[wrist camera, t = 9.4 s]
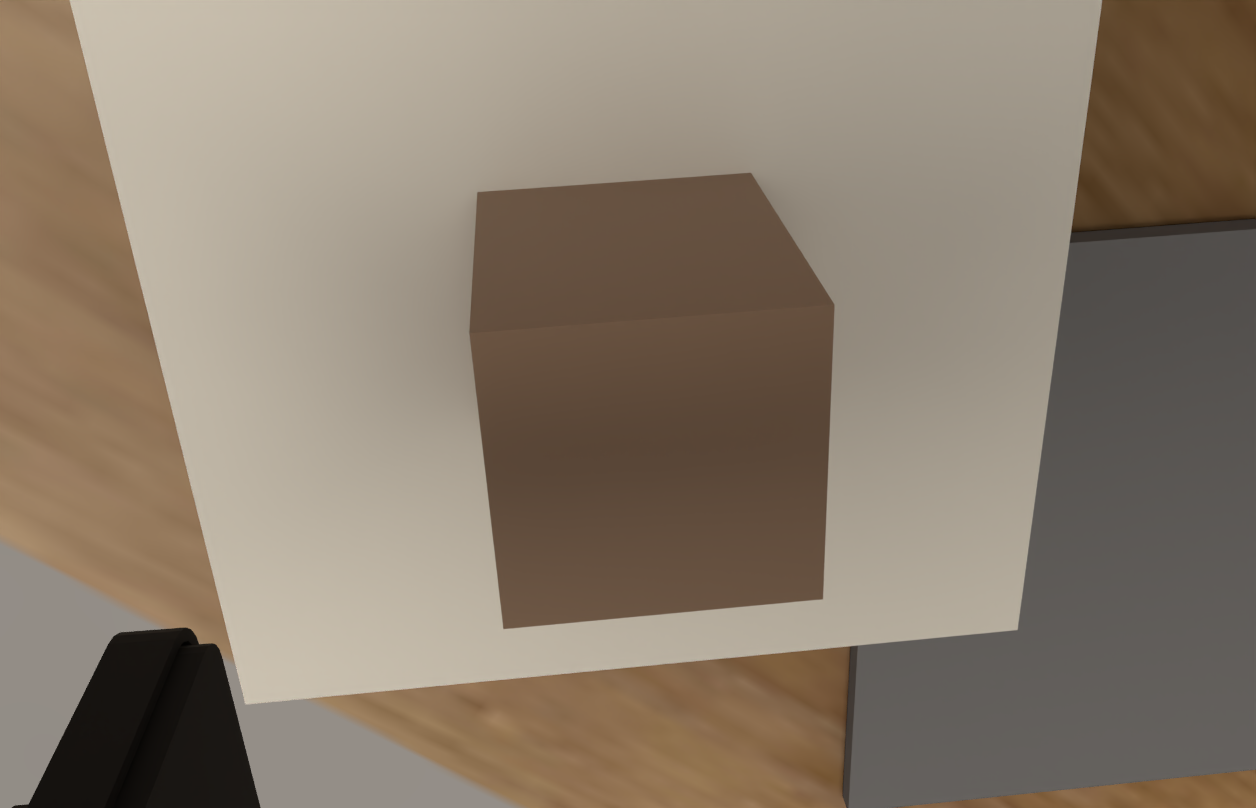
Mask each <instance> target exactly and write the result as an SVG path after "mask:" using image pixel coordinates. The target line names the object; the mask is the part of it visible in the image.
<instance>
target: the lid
mask: <svg viewBox="0 0 1256 808" xmlns="http://www.w3.org/2000/svg"><path fill="white" fill-rule="evenodd" d="M70 3H71V7H72V11H73V15H74V19H75V23H76V27H77V31H78V35H79V39H80V43H81V47H82V51H83V55H84V59H85V63H86V67H87V71H88V75H89V79H90V83H91V87H92V91H93V95H94V99H95V103H96V107H97V111H98V115H99V119H100V123H101V127H102V131H103V135H104V139H105V143H106V147H107V151H108V155H109V159H110V163H111V167H112V171H113V175H114V179H115V183H116V187H117V191H118V195H119V199H120V203H121V207H122V211H123V215H124V220H125V224H126V228H127V232H128V236H129V240H130V244H131V248H132V252H133V256H134V260H135V264H136V268H137V272H138V276H139V280H140V284H141V288H142V292H143V296H144V300H145V304H146V308H147V312H148V316H149V320H150V324H151V328H152V332H153V336H154V340H155V344H156V348H157V352H158V356H159V360H160V364H161V368H162V372H163V376H164V380H165V384H166V388H167V392H168V396H169V400H170V404H171V408H172V412H173V416H174V420H175V424H176V428H177V432H178V436H179V440H180V444H181V448H182V452H183V456H184V460H185V464H186V468H187V472H188V476H189V480H190V484H191V488H192V492H193V496H194V500H195V504H196V508H197V512H198V516H199V520H200V524H201V528H202V532H203V536H204V540H205V544H206V548H207V552H208V556H209V560H210V564H211V568H212V572H213V576H214V580H215V584H216V588H217V592H218V596H219V600H220V604H221V608H222V612H223V616H224V620H225V624H226V628H227V632H228V636H229V640H230V644H231V648H232V652H233V656H234V660H235V664H236V668H237V672H238V676H239V680H240V684H241V688H242V692H243V696H244V700H245V704H254V703H265V702H275V701H286V700H295V699H307V698H317V697H328V696H338V695H348V694H359V693H369V692H380V691H390V690H400V689H411V688H421V687H431V686H442V685H452V684H463V683H473V682H483V681H494V680H504V679H515V678H525V677H535V676H546V675H556V674H566V673H577V672H587V671H598V670H608V669H618V668H629V667H639V666H649V665H660V664H670V663H681V662H691V661H701V660H712V659H722V658H733V657H743V656H753V655H764V654H774V653H784V652H795V651H805V650H816V649H826V648H836V647H847V646H857V645H867V644H878V643H888V642H899V641H909V640H919V639H930V638H940V637H951V636H961V635H971V634H982V633H992V632H1002V631H1013V630H1018V623H1019V615H1020V608H1021V600H1022V593H1023V586H1024V578H1025V571H1026V563H1027V556H1028V548H1029V541H1030V534H1031V526H1032V519H1033V511H1034V504H1035V496H1036V489H1037V481H1038V474H1039V467H1040V459H1041V452H1042V444H1043V437H1044V429H1045V422H1046V414H1047V407H1048V400H1049V392H1050V385H1051V377H1052V370H1053V362H1054V355H1055V348H1056V340H1057V333H1058V325H1059V318H1060V310H1061V303H1062V295H1063V288H1064V281H1065V273H1066V266H1067V258H1068V251H1069V243H1070V236H1071V228H1072V221H1073V214H1074V206H1075V199H1076V191H1077V184H1078V176H1079V169H1080V162H1081V154H1082V147H1083V139H1084V132H1085V124H1086V117H1087V109H1088V102H1089V95H1090V87H1091V80H1092V72H1093V65H1094V57H1095V50H1096V42H1097V35H1098V28H1099V20H1100V13H1101V5H1102V0H70Z"/></svg>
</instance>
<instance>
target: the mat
mask: <svg viewBox="0 0 1256 808" xmlns="http://www.w3.org/2000/svg"><path fill="white" fill-rule="evenodd" d="M1246 770H1256V219H1246V220H1233V221H1220V222H1206V223H1193V224H1180V225H1166V226H1153V227H1140V228H1126V229H1113V230H1100V231H1086V232H1073V233H1071V236H1070V243H1069V251H1068V258H1067V266H1066V273H1065V281H1064V288H1063V295H1062V303H1061V310H1060V318H1059V325H1058V333H1057V340H1056V348H1055V355H1054V362H1053V370H1052V377H1051V385H1050V392H1049V400H1048V407H1047V414H1046V422H1045V429H1044V437H1043V444H1042V452H1041V459H1040V467H1039V474H1038V481H1037V489H1036V496H1035V504H1034V511H1033V519H1032V526H1031V534H1030V541H1029V548H1028V556H1027V563H1026V571H1025V578H1024V586H1023V593H1022V600H1021V608H1020V615H1019V623H1018V630H1013V631H1002V632H992V633H982V634H971V635H961V636H951V637H940V638H930V639H919V640H909V641H899V642H888V643H878V644H867V645H857V646H851V652H850V670H849V689H848V707H847V726H846V744H845V763H844V781H843V798H844V801H845V804H846V807H847V808H894V807H903V806H913V805H922V804H932V803H941V802H951V801H960V800H970V799H979V798H989V797H999V796H1008V795H1018V794H1027V793H1037V792H1046V791H1056V790H1065V789H1075V788H1084V787H1094V786H1103V785H1113V784H1122V783H1132V782H1141V781H1151V780H1161V779H1170V778H1180V777H1189V776H1199V775H1208V774H1218V773H1227V772H1237V771H1246Z"/></svg>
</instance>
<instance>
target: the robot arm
mask: <svg viewBox="0 0 1256 808" xmlns="http://www.w3.org/2000/svg"><path fill="white" fill-rule="evenodd" d="M12 808H260V804H259V800H258V796H257V792H256V788H255V785H254V781H253V777H252V773H251V769H250V765H249V761H248V757H247V753H246V749H245V745H244V741H243V737H242V733H241V730H240V726H239V722H238V718H237V714H236V710H235V706H234V702H233V698H232V694H231V690H230V686H229V682H228V678H227V675H226V671H225V667H224V663H223V659H222V656H221V653H220V650H219V648H218V647H217V645H215V644H213V643H211V644H199V643H198V640H197V637H196V635H195V634H194V633H193V631H192V630H191V629H188V628H174V629H161V630H149V631H148V630H147V631H134V632H121V633H119V634H117V635H115V636H114V637H113V639H112V640H111V641H110V643H109V644H108V646H107V648H106V650H105V652H104V654H103V656H102V658H101V660H100V662H99V664H98V666H97V668H96V670H95V672H94V674H93V676H92V678H91V680H90V682H89V684H88V686H87V688H86V690H85V692H84V694H83V696H82V698H81V700H80V702H79V704H78V706H77V708H76V710H75V712H74V714H73V716H72V718H71V720H70V722H69V724H68V726H67V728H66V730H65V732H64V735H63V736H62V738H61V740H60V742H59V744H58V746H57V748H56V750H55V752H54V754H53V756H52V758H51V760H50V763H49V764H48V767H47V768H46V771H45V773H44V775H43V777H42V779H41V781H40V783H39V785H38V787H37V789H36V791H35V793H34V795H33V797H32V799H31V801H30V803H29V805H18V806H13V807H12Z"/></svg>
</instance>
